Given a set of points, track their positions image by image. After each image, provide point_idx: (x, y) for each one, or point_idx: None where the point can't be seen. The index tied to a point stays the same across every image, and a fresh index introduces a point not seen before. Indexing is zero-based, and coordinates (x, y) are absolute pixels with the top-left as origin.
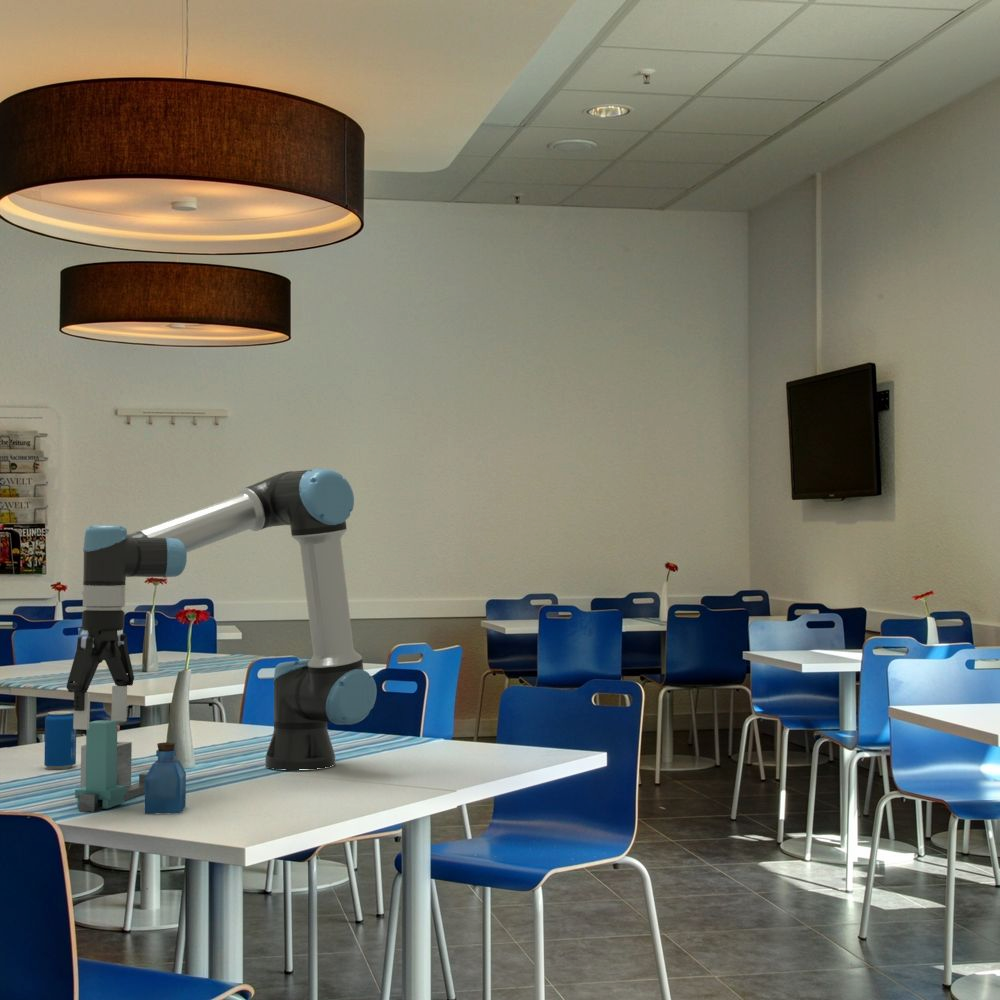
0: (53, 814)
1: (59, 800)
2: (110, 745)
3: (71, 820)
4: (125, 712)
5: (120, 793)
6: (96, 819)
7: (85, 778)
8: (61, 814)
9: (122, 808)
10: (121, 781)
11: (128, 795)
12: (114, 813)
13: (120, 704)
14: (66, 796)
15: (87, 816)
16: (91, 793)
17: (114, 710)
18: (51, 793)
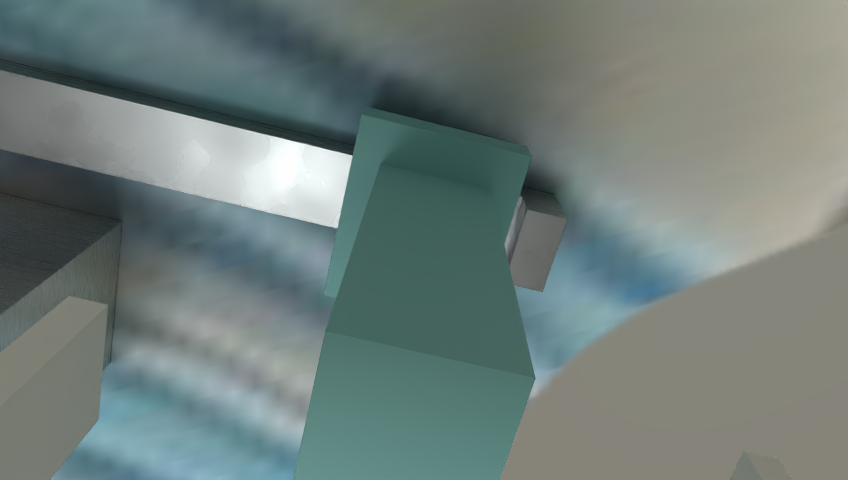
0: (587, 339)
1: (284, 395)
2: (450, 269)
3: (731, 239)
4: (43, 341)
5: (427, 124)
6: (728, 140)
7: None
8: (591, 310)
9: (472, 90)
10: (20, 219)
11: (241, 123)
12: (594, 96)
13: (11, 444)
14: (195, 393)
15: (650, 197)
16: (521, 244)
17: (48, 457)
18: (137, 460)
